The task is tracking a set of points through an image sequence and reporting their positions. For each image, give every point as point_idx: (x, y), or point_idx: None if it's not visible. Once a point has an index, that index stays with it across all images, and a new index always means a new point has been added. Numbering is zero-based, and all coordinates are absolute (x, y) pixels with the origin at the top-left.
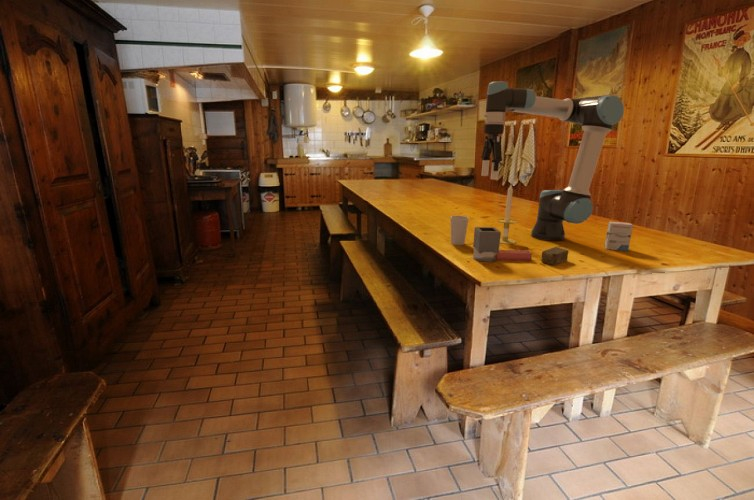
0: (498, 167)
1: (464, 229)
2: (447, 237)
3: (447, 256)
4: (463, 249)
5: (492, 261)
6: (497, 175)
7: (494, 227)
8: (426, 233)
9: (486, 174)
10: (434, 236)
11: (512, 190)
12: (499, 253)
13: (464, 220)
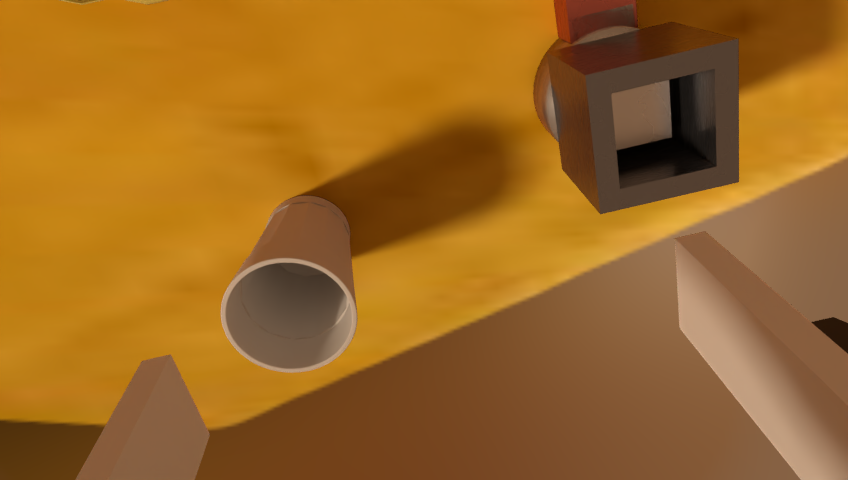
0: (827, 349)
1: (333, 243)
2: (191, 293)
3: (582, 268)
4: (434, 199)
5: None
6: (740, 272)
7: (593, 76)
8: None
9: (177, 393)
10: (198, 359)
11: None
12: (636, 10)
13: (343, 278)
